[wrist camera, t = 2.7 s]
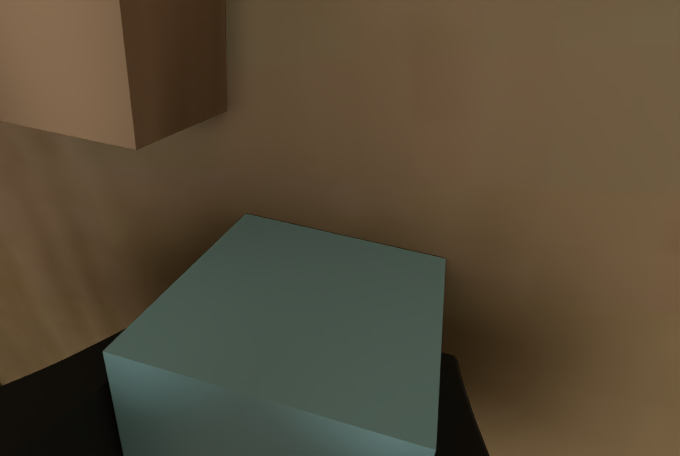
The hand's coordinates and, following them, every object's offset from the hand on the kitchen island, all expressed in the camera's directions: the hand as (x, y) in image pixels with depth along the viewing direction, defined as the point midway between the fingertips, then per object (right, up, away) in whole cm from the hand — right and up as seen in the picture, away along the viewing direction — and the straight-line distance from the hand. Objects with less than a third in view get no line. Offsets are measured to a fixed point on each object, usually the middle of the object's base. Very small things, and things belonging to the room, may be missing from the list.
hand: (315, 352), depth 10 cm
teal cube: (0, +1, +1) cm, 1 cm away
